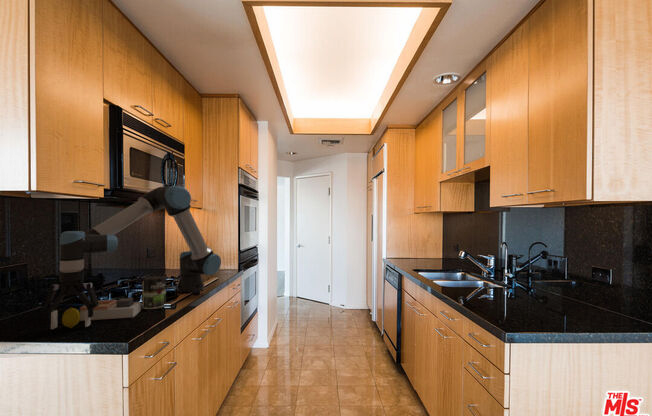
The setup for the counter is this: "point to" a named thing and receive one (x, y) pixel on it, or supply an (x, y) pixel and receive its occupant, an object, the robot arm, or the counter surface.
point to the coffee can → (154, 292)
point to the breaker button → (124, 302)
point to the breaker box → (111, 310)
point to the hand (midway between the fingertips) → (71, 326)
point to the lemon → (71, 317)
